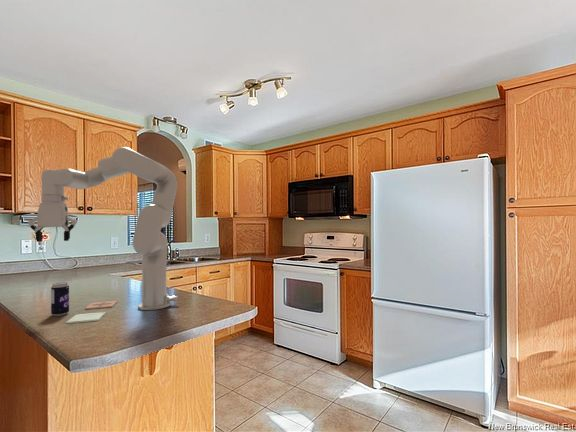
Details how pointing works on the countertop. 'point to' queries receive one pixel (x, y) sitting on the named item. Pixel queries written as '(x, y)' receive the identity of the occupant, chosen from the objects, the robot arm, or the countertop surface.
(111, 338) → the countertop surface
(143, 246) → the robot arm
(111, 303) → the pad
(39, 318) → the countertop surface
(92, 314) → the pad
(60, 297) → the beverage can
